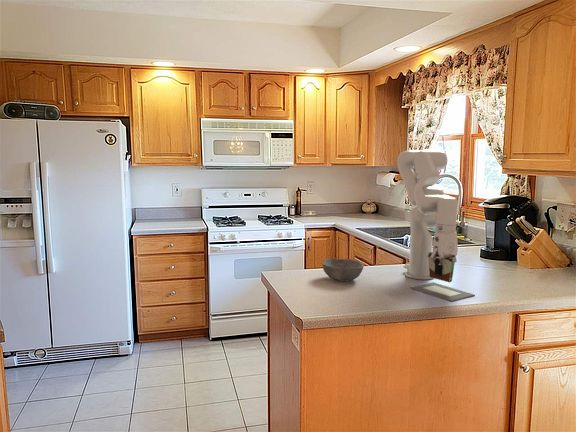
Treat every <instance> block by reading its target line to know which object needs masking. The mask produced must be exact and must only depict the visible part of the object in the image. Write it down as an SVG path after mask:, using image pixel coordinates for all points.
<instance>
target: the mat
mask: <svg viewBox="0 0 576 432" xmlns="http://www.w3.org/2000/svg"><path fill="white" fill-rule="evenodd" d="M410 289H412V290H415V291H417V292H420V293H424V294H427V295H429V296H432V297H436V298H439V299H442V300H443V301H444V300H445V301H449V302H451V303H452V302H456V301H460V300H464V299H468V298H471V297H475V294H474V293H470V292H467V291H465V290H464V291H463V290H460V289H456V288H453V287H449V286H447V285H443V284H440V283H436V282H429V283H424V284H419V285H415V286H410Z"/></svg>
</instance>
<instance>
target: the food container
mask: <svg viewBox="0 0 576 432" xmlns="http://www.w3.org/2000/svg"><path fill="white" fill-rule="evenodd" d="M431 255H432V252H428V256H427V257H429V277H430V278H433V279H435V280H438V281H442V282H447V283H452V281H453V278H454V277H453V275H454V272H455V271H454V270H455V263H457V261H458V260H457V256H455V255H454V257H449V258H443V260H442V264H441V265H442V266H443V267H442V275H437V274H435V264H434V262H433V260H432V259H431V258H430V257H431ZM438 257H439V256H438ZM438 260H440V259H439V258H438Z"/></svg>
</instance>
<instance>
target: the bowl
mask: <svg viewBox="0 0 576 432" xmlns="http://www.w3.org/2000/svg"><path fill="white" fill-rule="evenodd" d="M364 266H365V265H364V263H363V262H361V261H359V260H355V259H351V258H325V259H324V260H323V261H322V269H323V272H324V273H325V274H326V275H327V276H328V277H329V278H330V279H333V280H336V281H337V280H338V281H343V282H351V281H354V280H355V279H357V278H359V277H360V275H361V273H362V272H363V270H364Z"/></svg>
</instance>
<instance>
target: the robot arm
mask: <svg viewBox="0 0 576 432" xmlns="http://www.w3.org/2000/svg"><path fill="white" fill-rule="evenodd" d="M447 165H448V156H447V154H446V152H444V151H443V150H439V149H421V150H420V149H419V150H417V149H415V150H413V149H409V150H404V151H402V152H400V153H399V155H398V156H397V168H398V173H399V175H400V177H401V178H402V180H403V182H404V187H405V190H406V191H405V192H406V195H407V199H408V202H409V204H410V206H412V208H411V210H409V215H408V217H409V225H410V226H409V227H410V239H409V241H410V243H409V245H410V246H409V260H408V261H409V262H408V263H405V264H404V265H403V268H404V269H405V270H406V271H405V272H404V274H405V275H404V276H406V277H407V278H410V279H414V280H421V281H422V280H423V281H425V280H427V281H428V280H432V279H434V278H430V277H429V257H427V256H428V252H432V255H431V257H430V258H431V259H432V260H433V262H434V264H435V274H437V275H442V267H443V266H442V265H441V264H442V260H443V258H449V257H454V255H455V256H456V257H457V256H458V252H459V251H458V246H459V245H458V244H459V243H458V242H459V241H458V234H457V214H458V199H457V198H456V197H453V196H450V195H448V194H445V191H444V190H443V189H442V188H441V187H438V186H434V185H436V184H437V183H438V182H439V180H440V178H441V175H440V172H439V170H445V169H446V167H447ZM428 229H435V231H434V235H433V236H434V237H433V236H432V234H431V232H430V231H429V230H428ZM438 256H439V257H438ZM438 258H439V259H440V260H438Z"/></svg>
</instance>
